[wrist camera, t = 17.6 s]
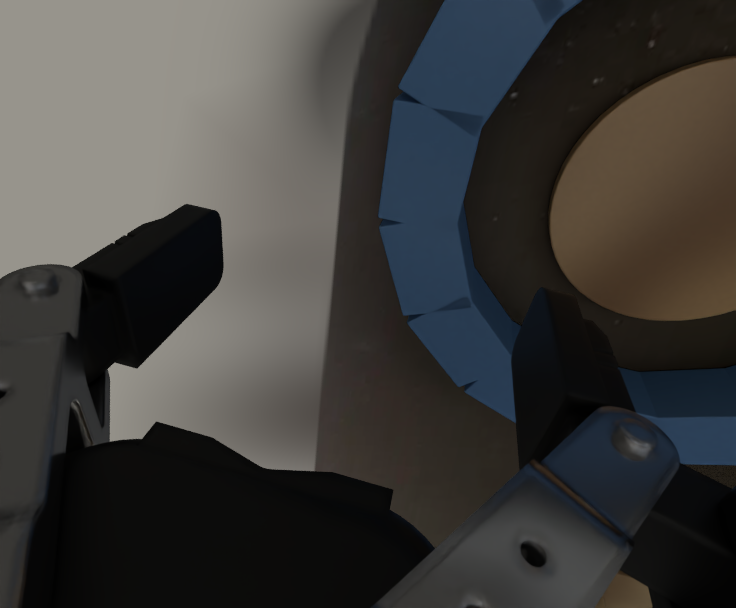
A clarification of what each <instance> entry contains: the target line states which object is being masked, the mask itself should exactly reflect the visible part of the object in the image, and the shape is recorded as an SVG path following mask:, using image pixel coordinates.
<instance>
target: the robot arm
mask: <svg viewBox="0 0 736 608" xmlns="http://www.w3.org/2000/svg"><path fill="white" fill-rule="evenodd" d="M222 273H223V248H222V229H221V218H220V216H219V213H218V212H217V211H215V210H211V209H206V208H202V207H198V206H193V205H189V204H186V205H183V206H182V207H180V208H178V209H177V210H175V211H174V212H172V213H171V214H169V215H167V216H166V217H164V218H162V219H158V220H155V221H152V222H148V223H145V224H143V225H141V226H139V227H137V228H136V229H134V230H133V231H131V232H129V233H128V234H127V236H123V237H121V238H120V239H118V240H116V241H115V244H113V243H111V244H110V245H108V246H106V247H105V248H103V249H101V250H100V251H98V252H97V253H95V254H94V255H92V256H90V257H88V258H87V259H85V260H84V261H82V262H80V263H79V264H77V265H75V266H74V267H72V268H71V267H68V266H64V265H54V264H53V265H52V264H47V265H37V266H31V267H26V268H23V269H19V270H16V271H14V272H11V273H9V274H7V275H6V276H4V277H2V278H1V279H0V608H595V606H596V605H597V603H598V602H599V600H600V599H601V597H602V596H603V594H604V593H605V591H606V590H607V588H608V586H609V585H610V583H611V582H612V580H613V579H614V577H615V576H616V574H617V573H618V571H619V570H621V571H622V572H624V573H625V574H627V575H629V576H630V577H632V578H634V579H635V580H637V581H639V582H640V583H642V584H644V585H645V586H647V587H648V589H649V593H650V598H651V602H652V606H653V608H736V486H735V487H734V488H733V489H731V488H729V487H727V486H725V485H723V484H721V483H719V482H717V481H715V480H713V479H711V478H709V477H707V476H705V475H703V474H701V473H699V472H697V471H695V470H693V469H691V468H689V467H687V466H685V465H683V464H681V463H680V458H679V454H678V451H677V449H676V447H675V445H674V444H673V442H672V441H671V440H670V438H669V437H668V436H667V435H666V434H665V433H664V432H663V431H662V430H661V429H660V428H659V427H658V426H657V425H655V424H654V423H652V422H651V421H650V420H648V419H646V418H645V417H643V416H641V415H639V414H637V413H636V411H635V408H634V406H633V403H632V400H631V398H630V395H629V393H628V390H627V387H626V385H625V382H624V380H623V377H622V374H621V372H620V370H619V369H618V364H617V361H616V359H615V356H613V351H612V348H611V346H610V343H609V340H608V338H607V336H606V335H605V334H604V333H603V332H602V331H601V330H600V329H599V327H598V326H597V325H596V324H595V323H594V322H593V321H591V320H587V319H583V318H582V315H581V312H580V309H579V305H578V302H577V299H576V297H575V295H572V294H568V293H564V292H559V291H555V290H551V289H547V288H540V289H539V290H538V291H537V293H536V294H535V296H534V299H533V301H532V303H531V306H530V308H529V310H528V312H527V315H526V317H525V319H524V321H523V324H522V326H521V328H520V331H519V333H518V335H517V337H516V340H515V343H514V346H513V351H512V357H511V368H512V380H513V393H514V405H515V418H516V431H517V443H518V456H519V468H520V471H519V472H518V473H517V474H516V475H515V476H513V477H512V478H511V479H510V480H509V481H508V482H507V483H506V484H505V485H504V486H503V487H502V488H500V489H499V490H498V491H497V492H496V493H495V494H494V495H493V496H492V497H491V498H490V499H489V500H487V501H486V502H485V503H484V504H483V505H482V506H481V507H480V508H479V509H478V510H477V511H476V512H474V513H473V514H472V515H471V516H470V517H469V518H468V519H467V520H466V521H465V522H464V523H463V524H461V525H460V526H459V527H458V528H457V529H456V530H455V531H454V532H453V533H452V534H451V535H450V536H448V537H447V538H446V539H445V540H444V541H443V542H442V543H441V544H440V545H439V546H438V547H437V548H434V547H433V545H432V544H431V543H430V542H429V541H428V540H427V538H426V537H425V536H423V535H422V534H421V533H420V532H419V531H418V530H417V529H416V528H415V527H414V526H413V525H411V524H410V523H409V522H407V521H406V520H405V519H403V518H402V517H401V516H399V515H398V514H396V513H394V512H393V511H391V510H390V505H391V499H392V494H393V490H392V489H389V488H385V487H382V486H378V485H375V484H371V483H368V482H365V481H361V480H358V479H354V478H351V477H347V476H344V475H340V474H337V473H333V472H315V471H293V470H272V469H266V468H262V467H260V466H258V465H257V464H255V463H253V462H252V461H250V460H248V459H247V458H245V457H243V456H242V455H240V454H238V453H237V452H235V451H233V450H232V449H230V448H228V447H227V446H225V445H223V444H222V443H220V442H219V441H216V440H215V439H214V438H211V437H208V436H204V435H201V434H198V433H194V432H191V431H187V430H184V429H180V428H177V427H173V426H170V425H167V424H163V423H159V422H156V423H155V424H154V425H153V426H152V427H151V429H150V430H149V431H148V432H147V434H146V435H145V436H144V437H143V439H129V440H118V441H112V442H110V441H109V440H110V439H109V435H110V426H109V425H110V377H109V373H108V370H107V369H108V368H109V367H110V366H111V365H112V364H113V363H114V362H116V363H119V364H122V365H126V366H130V367H133V368H138V367H139V366H140V365H141V364H142V363H143V362H144V361H145V360H146V359H147V358H148V357H149V356H150V355H151V354H152V353H153V352H154V351H155V350H156V349H157V348H158V347H159V346H160V345H161V344H162V343H163V342H164V341H165V340H166V339H167V337H169V336H170V335H171V334H172V332H173V331H174V330H175V329H176V328H177V327H178V326H179V325H180V324H181V323H182V322H183V321H184V320H185V319H186V318H187V317H188V316H189V315H190V314H191V313H192V312H193V311H194V310H195V309H196V308H197V307H198V306H199V305H200V304H201V303H202V302H203V301H204V300H205V299H206V298H207V297H208V296H209V295H210V294H211V293H212V292H213V291H214V290H215V289H216V287H217V286H218V284H219V283H220V280H221V278H222Z"/></svg>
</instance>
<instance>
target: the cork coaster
mask: <svg viewBox="0 0 736 608" xmlns="http://www.w3.org/2000/svg"><path fill="white" fill-rule="evenodd" d="M548 229H549V236H550V242H551V246H552V249H553V252H554V255H555V258H556V260H557V262H558V264H559V266H560V268H561V270H562V272H563V273H564V275H565V276H566V277H567V279H568V280H569V282H570V283H571V284H572V285H573V286H574V287H575V288H576V289H577V290H578V291H579V292H581V293H582V294H583V295H585V296H586V297H587V298H589V299H590V300H592V301H593V302H595V303H597V304H599V305H600V306H602V307H604V308H607V309H609V310H611V311H614V312H616V313H619V314H623V315H626V316H630V317H634V318H640V319H646V320H658V321H683V320H691V319H700V318H705V317H710V316H715V315H720V314H723V313H727V312H730V311H734V310H736V55H731V56H724V57H718V58H713V59H707V60H703V61H699V62H696V63H693V64H689V65H686V66H683V67H680V68H677V69H675V70H672V71H670V72H668V73H665V74H663V75H660V76H658V77H656V78H654V79H652V80H651V81H649V82H647V83H645V84H643V85H641V86H640V87H638V88H636V89H635V90H633V91H632V92H630V93H629V94H627V95H626V96H624V97H623V98H621V99H620V100H619V101H617V102H616V103H615V104H614V105H612V106H611V107H610V108H609V109H608V110H606V111H605V112H604V113H603V114H602V115H601V116H599V118H598V119H597V120H596V121H595V122H594V123H593V124H592V125H591V126H590V127H589V128H588V129H587V130H586V131H585V132H584V134H583V135H582V136H581V137H580V139H579V140H578V141H577V143H576V144H575V145H574V147H573V148H572V150H571V151H570V153H569V155H568V156H567V158H566V160H565V161H564V163H563V165H562V167H561V169H560V171H559V174H558V176H557V178H556V180H555V184H554V187H553V190H552V194H551V198H550V204H549V210H548Z"/></svg>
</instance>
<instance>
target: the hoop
mask: <svg viewBox="0 0 736 608" xmlns="http://www.w3.org/2000/svg"><path fill="white" fill-rule="evenodd" d="M581 1H582V0H444V2H443V4H442V6H441V8H440V9H439V11H438V13H437V15H436V17H435V19H434V21H433V22H432V24H431V26H430V28H429V30H428V32H427V34H426V35H425V37H424V39H423V41H422V43H421V45H420V47H419V48H418V50H417V52H416V54H415V56H414V58H413V60H412V61H411V63H410V65H409V67H408V69H407V71H406V73H405V74H404V76H403V78H402V80H401V82H400V84H399V86H398V88H399V89H401V90H402V91H404V92H402V93H401V94H400V95H399V96H398V97H397V98H396V99H394V101H393V108H392V115H391V123H390V130H389V138H388V145H387V152H386V160H385V167H384V175H383V182H382V189H381V197H380V204H379V212H378V218H382V219H383V221H382V222H381V224H380V226H379V230H380V234H381V237H382V241H383V245H384V248H385V252H386V255H387V259H388V263H389V266H390V270H391V274H392V277H393V281H394V284H395V288H396V292H397V295H398V299H399V302H400V306H401V310H402V313H403V315H404V316H405V315H409V317H408V321H407V324H408V325H409V326H410V328H411V329H412V330H413V331H414V333H415V334H416V335H417V336H418V338H419V339H420V340H421V341H422V343H423V344H424V345H425V346H426V348H427V349H428V350H429V351H430V353H431V354H432V355H433V356H434V358H435V359H436V360H437V361H438V362H439V364H440V365H441V366H442V367H443V369H444V370H445V371H446V372H447V374H448V375H449V376H450V377H451V379H452V380H453V381H454V382H455V384H456V385H457V386H458V387H460V386H463V385H465V390H464V391H465V393H467V394H468V395H470V396H472V397H473V398H475V399H477V400H478V401H480V402H482V403H483V404H485V405H487V406H488V407H490V408H492V409H493V410H495V411H497V412H498V413H500V414H502V415H503V416H505V417H507V418H508V419H510V420H512V421H513V422H515V423H516V418H515V405H514V393H513V380H512V368H511V357H512V351H513V346H514V343H515V340H516V337H517V335H518V333H519V331H520V328H521V326H520V325H518V324H517V323H515V322H513V321H512V320H511V319H510V317H509V316H508V315H507V313H506V312H505V310H504V309H503V307H502V306H501V305H500V303H499V302H498V300H497V299H496V297H495V296H494V294H493V293H492V292H491V290H490V289H489V287H488V286H487V284H486V283H485V281H484V280H483V279H482V277H481V276H480V274H479V273H478V271H477V270H476V269H475V267H474V262H473V256H472V250H471V244H470V238H469V233H468V227H467V221H466V215H465V209H464V203H463V201H464V197H465V193H466V189H467V185H468V181H469V177H470V173H471V169H472V165H473V161H474V157H475V153H476V149H477V145H478V141H479V137H480V133H481V129H482V127H483V126H484V124H485V123H486V121H487V120H488V118H489V117H490V116H491V114H492V113H493V111H494V110H495V108H496V107H497V105H498V104H499V103H500V101H501V100H502V98H503V97H504V95H505V94H506V93H507V91H508V90H509V88H510V87H511V85H512V84H513V82H514V81H515V80H516V78H517V77H518V75H519V74H520V72H521V71H522V70H523V68H524V67H525V65H526V64H527V62H528V61H529V59H530V58H531V57H532V55H533V54H534V52H535V51H536V49H537V48H538V47H539V45H540V44H541V42H542V41H543V39H544V38H545V36H546V35H547V34H548V32H549V31H550V29H551V28H552V26H553V25H554V24H555V22H556V21H557V19H558V18H560V17H561V16H562V15H564V14H565V13H566V12H568V11H569V10H570V9H572V8H573V7H574V6H576V5H577V4H578V3H580V2H581ZM618 369H619V370H620V372H621V374H622V377H623V380H624V382H625V385H626V387H627V390H628V393H629V395H630V398H631V400H632V403H633V406H634V408H635V411H636V413H637V414H639V415H641V416H643V417H645V418H646V419H648V420H650V421H651V422H652V423H654V424H655V425H657V426H658V427H659V428H660V429H661V430H662V431H663V432H664V433H665V434H666V435H667V436H668V437H669V438H670V440H671V441H672V442H673V444H674V445H675V447H676V449H677V451H678V454H679V458H680V463H681V464H699V465H736V365H734V366H731V367H727V368H719V369H696V370H673V371H651V372H637V371H632V370H628V369H624V368H620V367H618Z"/></svg>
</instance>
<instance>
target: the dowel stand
mask: <svg viewBox="0 0 736 608" xmlns="http://www.w3.org/2000/svg"><path fill="white" fill-rule="evenodd" d="M652 607H653V606H652V602H651V598H650V593H649V589H648V587H647V586H645V585H644V584H642V583H640V582H639V581H637V580H635V579H634V578H632V577H630V576H629V575H627V574H625V573H624V572H622V571H621V570H619V571H618V573H617V574H616V576H615V577H614V579H613V580H612V582H611V583H610V585H609V586H608V588H607V590H606V591H605V593H604V594H603V596H602V597H601V599H600V600H599V602H598V603H597V605H596V606H595V608H652Z"/></svg>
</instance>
